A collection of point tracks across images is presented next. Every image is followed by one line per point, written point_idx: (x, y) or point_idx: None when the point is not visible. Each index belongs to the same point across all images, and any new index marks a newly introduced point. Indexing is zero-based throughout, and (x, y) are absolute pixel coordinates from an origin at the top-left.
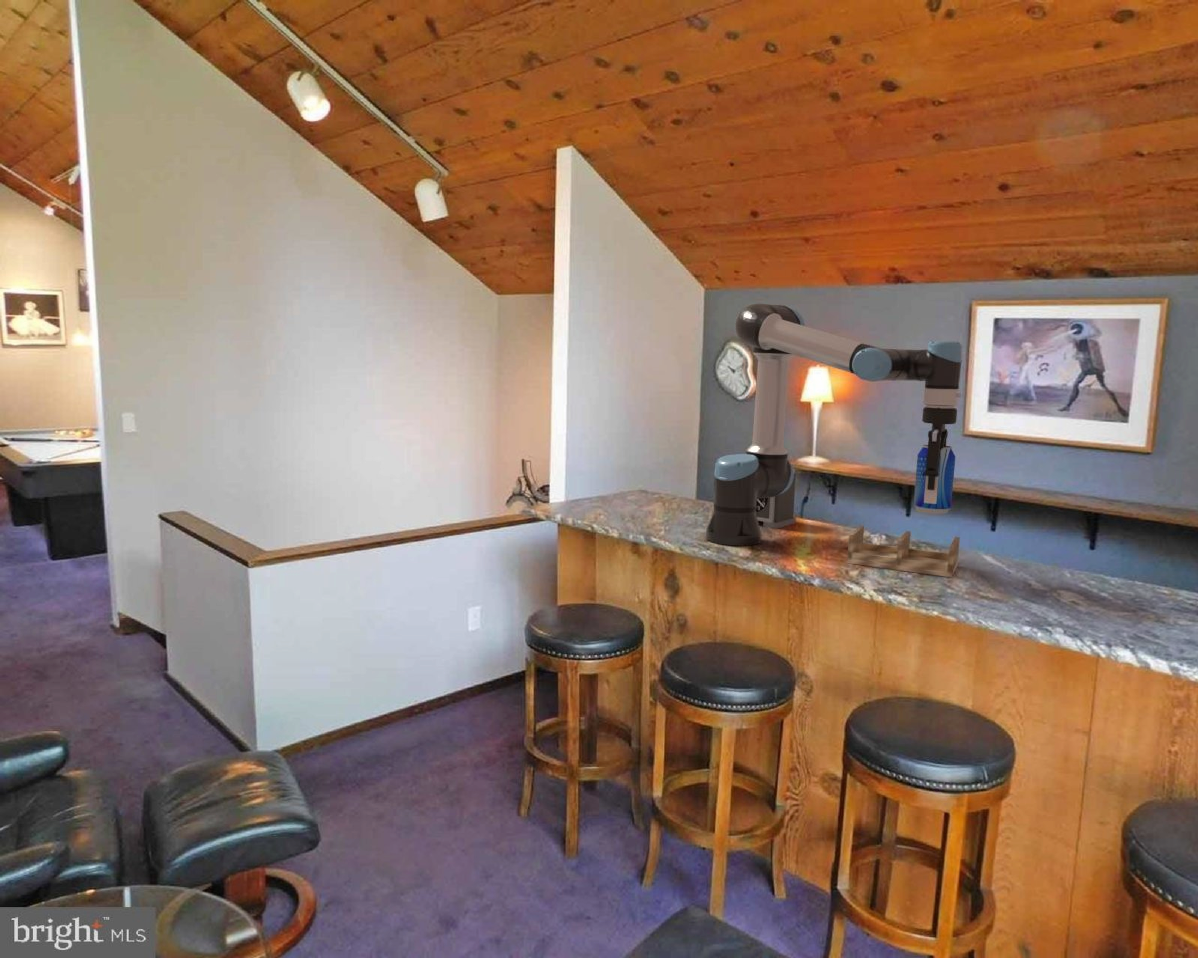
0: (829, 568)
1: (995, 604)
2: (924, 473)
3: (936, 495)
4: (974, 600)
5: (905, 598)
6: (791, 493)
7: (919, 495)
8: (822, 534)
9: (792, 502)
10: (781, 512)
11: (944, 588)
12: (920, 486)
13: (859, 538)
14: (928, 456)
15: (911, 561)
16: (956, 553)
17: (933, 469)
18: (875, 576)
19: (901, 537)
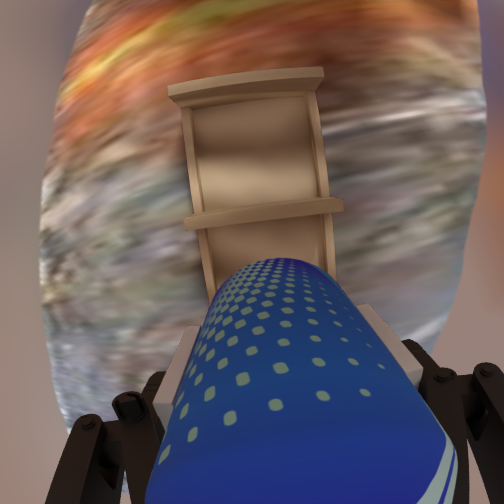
0: (118, 102)
1: (111, 390)
2: (117, 407)
3: None
4: (105, 368)
5: (42, 284)
6: None
7: (210, 311)
8: (412, 6)
9: None
10: None
11: (131, 324)
12: (201, 334)
13: (264, 89)
14: (53, 497)
15: (200, 248)
16: None
17: (100, 462)
18: (117, 197)
19: (235, 213)
